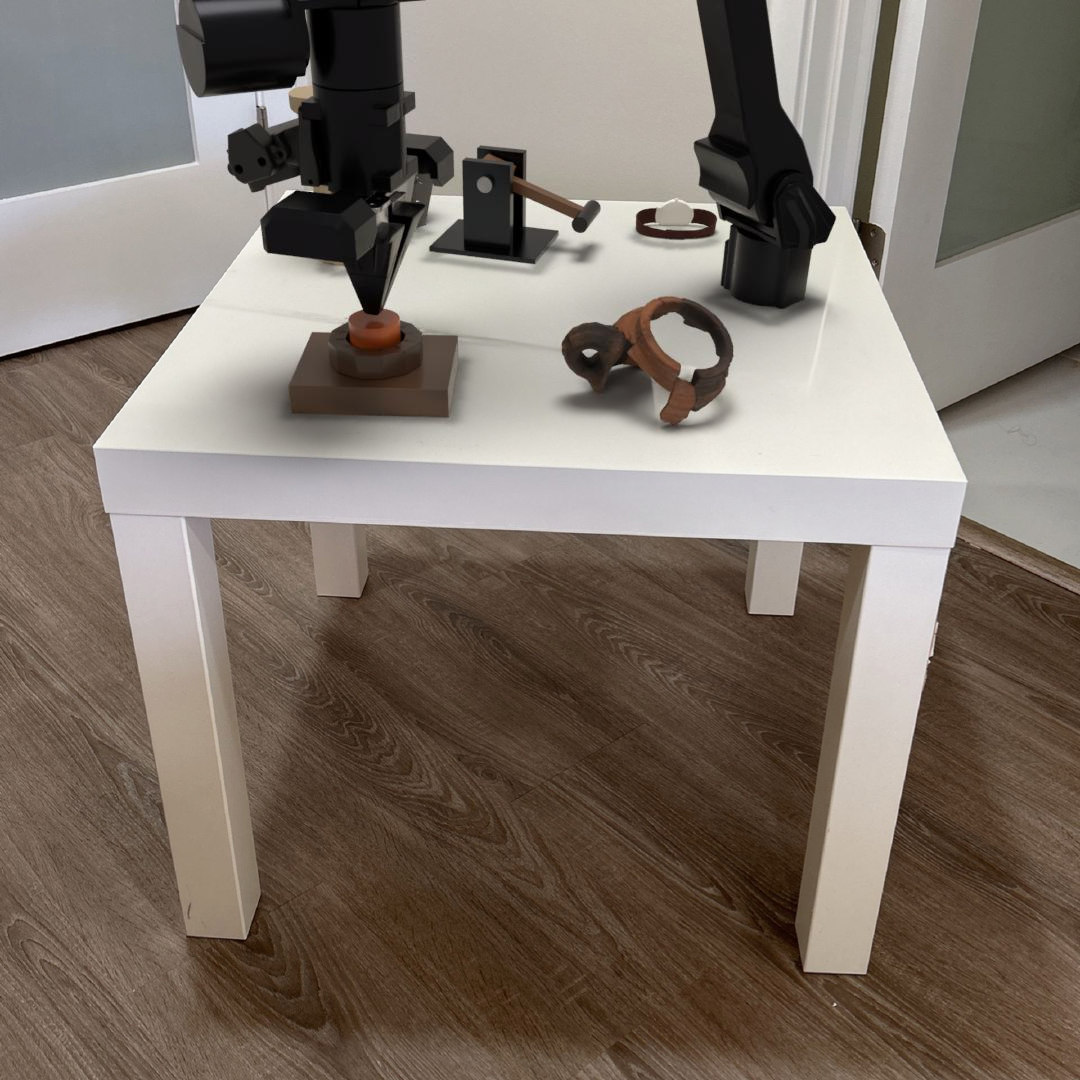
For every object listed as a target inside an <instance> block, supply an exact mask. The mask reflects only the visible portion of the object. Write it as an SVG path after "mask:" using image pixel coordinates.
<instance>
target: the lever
mask: <svg viewBox="0 0 1080 1080" xmlns="http://www.w3.org/2000/svg"><path fill="white" fill-rule="evenodd" d="M483 159H486V160H496V161H504V160H502V159H499V158H497V157H495V156H493V155H491V154H488V155H486V156H485V157H484V158H483ZM505 162H506V161H505ZM515 169H516V166H515V165H513V192H515V193H517V194H519V195H522V196H524V197H526V199H529V200H531V201H533V202H535V203H537V204H539V205H542V206H544V207H546V208H549V209H551V210H553V211H555V212H558V213H560V214H562V215H564V216H567V217H568V218H571V219H572V221H571V228H572V230H573V231H574V232H575V233H578V234H583V233H585V232H586V231H587V230H588V228H589V227H590V226H591V224H592V223H593V222H594V221H595V219H596V218H597V217H598V215H599V214H600V213H601V210H602V208H601V207H602V206H601V204H600V202H598V201H597V200H596V199H590V200H588V201H587V202H586V203H585V204H584V206H583V205H581V204H578V203H576V202H574V201H572V200H570V199H568V198H565V197H563V196H560V195H559V194H556V193H554V192H551V191H549V190H547V189H545V188H543V187H540V186H538V185H536V184H534V183H531V182H530V181H527V180H526V181H525V180H522V179H520V178H518V177H516V176H514V172H515Z"/></svg>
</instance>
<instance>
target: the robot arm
mask: <svg viewBox="0 0 1080 1080" xmlns="http://www.w3.org/2000/svg"><path fill="white" fill-rule="evenodd" d="M421 1H422V2H423V1H425V0H178V14H177V15H178V24H176V25H175V32H176V37H177V45H178V49H179V54H180V57H181V63H182V66H183V70H184V73H185V76H186V78H187V81H188V84H189V86H190V88H191V90H192V92H193V93H194V95H195V97H197V98H199V99H201V98H210V97H219V96H230V95H239V94H247V93H248V94H249V93H256V92H267V91H276V90H286V89H293V87H294V86H295V85H296V82H297V79H298V78H301V77H302V78H303V77H305V76H306V73H307V68H308V66H309V64H310V72H311V73H310V74H311V86H312V88H313V96H311V97H310V98H308V99H306V100H304V101H302V102H301V105H300V106H299V108H298V114H297V117H296V118H293V119H289V120H286V121H284V122H281V123H278V124H275V125H272V126H269V127H266V128H265V127H264V126H263V125H262V124H261V123H258V122H255V123H253V124H251V125H250V126H247V127H245V128H243V127H241V128H238V129H236V130H235V131H231V133H229V134H227V149H226V153H227V160H228V163H227V167H226V168H227V171H228V173H229V174H230V175H231V176H233V177H235V179H236V180H237V181H238V182H240V183H241V184H243V185H248V188H249V190H250V192H251V193H253V194H254V193H259V192H263V191H264V190H266V188H267V187H268V186H270V185H271V186H272V185H274V184H278V183H280V182H283V181H288V180H291V179H294V178H296V177H299V178H300V185H301V186H303V187H312V188H313V187H319V186H320V185H324V186H328V191H330V192H331V193H329V194H327V193H318V192H313V191H308V190H299V189H296V190H295V191H293V192H291V193H290V194H289V195H287V196H285V197H284V198H282V200H280V201H278V202H277V203H275V204H274V205H272V206H271V207H270V208H269V210H267V212H266V213H264V215H263V216H262V217H261V218H260V219H259V223H260V231H261V238H262V247H263V250H264V251H265V253H267V254H271V255H279V256H287V257H295V258H303V259H311V260H317V261H318V260H319V261H323V260H326V261H334V262H342V263H343V264H344V265H343V266H344V268H345V271H346V273H347V275H348V278H349V280H350V282H351V285H352V287H353V289H354V292H355V295H356V297H357V299H358V302H359V304H360V306H361V310H363V311H364V313H366V314H369V315H378V314H379V313H380V312H381V311H382V310H383V309H385V306H386V304H387V301H388V298H389V296H390V293H391V290H392V288H393V285H394V283H395V280H396V278H397V275H398V272H399V270H400V267H401V265H402V263H403V260H404V258H405V255H406V252H407V250H408V249H409V246H410V243H411V241H412V239H413V236H414V234H415V231H416V229H417V228H416V227H417V225H418V222H419V220H420V218H421V216H422V214H423V213H424V212H425V204H423V203H417V202H418V201H416V202H408V201H406V192H403V191H400V187H401V186H403V185H404V184H405V183H406V182H408V181H409V180H410V179H411V178H413V177H414V176H415V175H416V174H430V179H431V181H432V183H433V186H434V187H439V188H443V187H444V186H446V184H447V183H448V182H449V181H451V180H452V179H453V178H454V177H455V158H454V157H455V154H454V153H455V152H454V149H453V148H452V147H451V146H450V145H449V144H448V142H447V141H445V139H444V138H443V137H442V136H439V135H429V134H418V133H411V132H410V133H409V132H407V124H406V115H408V114H409V113H410V112H412V111H413V110H415V109H416V108H417V107H416V106H417V105H416V91H409V90H408V91H407V90H405V83H404V82H405V80H404V60H403V38H402V16H401V15H402V14H401V3H409V2H421ZM695 2H696V6H697V12H698V19H699V25H700V30H701V36H702V41H703V42H702V43H703V47H704V48H703V49H704V54H705V59H706V64H707V70H708V77H709V83H710V88H711V94H712V100H713V105H714V118H713V121H712V124H711V125H710V129H709V131H708V135H707V136H706V137H703V138H702V137H701V138H698V139H697V140H695V141H694V142H693V151H694V154H695V157H696V159H697V162H698V166H699V179H698V186H699V188H702V189H704V190H706V191H707V192H708V195H709V197H710V198H711V199H712V200H713V201H715V205H716V209H717V214H718V218H719V219H720V220H721V221H723V222H728V223H730V226H729V227H730V228H729V235H728V238H727V239H726V240H725V241H724V248H723V256H722V266H721V276H720V286H721V287H723V289H724V290H727V291H729V293H730V295H731V296H732V297H733V298H734V299H735V300H737V301H739V302H742V303H744V304H748V305H751V306H757V307H766V308H767V307H770V308H776V309H780V310H784V309H787V308H789V307H791V306H794V305H796V304H798V303H800V302H803V301H804V300H805V298H806V291H807V285H808V278H809V272H810V266H811V260H812V252H813V249H814V247H816V245H819V244H825V243H827V242H828V239H829V237H830V235H831V233H832V230H833V228H834V225H835V223H836V220H837V216H836V215H835V213H834V212H833V210H832V208H830V206H829V205H828V204H827V202H826V201H825V200H824V198H823V197H822V196H821V194H820V193H819V192H818V191H817V189H816V187H814V182H815V181H814V177H815V176H814V171H813V168H812V165H811V162H810V158H809V155H808V152H807V148H806V145H805V142H804V139H803V138H802V136H801V135H800V133H799V131H798V130H797V128H796V126H795V125H794V123H793V121H792V120H791V118H790V117H789V116H788V114H787V112H786V111H785V109H784V108H783V107H784V106H783V105H782V102H781V98H780V92H779V91H780V90H779V83H778V76H777V69H776V61H775V54H774V46H773V38H772V30H771V24H770V17H769V9H768V1H767V0H696V1H695ZM418 226H419V225H418Z"/></svg>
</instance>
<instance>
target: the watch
mask: <svg viewBox="0 0 1080 1080" xmlns="http://www.w3.org/2000/svg"><path fill="white" fill-rule="evenodd" d="M717 222H718V217H717V215H716V214H715V213H714V212H712V211H710V210H709V209H708V210H707V209H702V208H696V207H691V206H690V204H688V202H686V201H685V200H682V199H679V197H675V198H673V199H670V200H667V201H665V202H664V203H662V204H661V205H660V206H659V207H658V206H656V207H649V208H643V209H641V210H639V211H638V212H637V213H636V214H635V232H637V233H638V234H640V235H642V236H646V237H650V238H656V239H657V238H658V239H667V240H691V239H692V240H693V239H702V238H707V237H710V236H712V235H714V234H715V232H716V227H717ZM646 224H647V225H646ZM648 224H658V225H660V226H684V227H685V226H688V225H690V224H691V225H693V224H697V225H702V226H706V227H704V228H700V229H699V228H698V229H692V230H691V229H689V230H687V229H686V230H682V229H681V230H680V229H679V230H678V229H677V230H676V229H667V228H665V229H661V228H656V227H653V226H648Z"/></svg>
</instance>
